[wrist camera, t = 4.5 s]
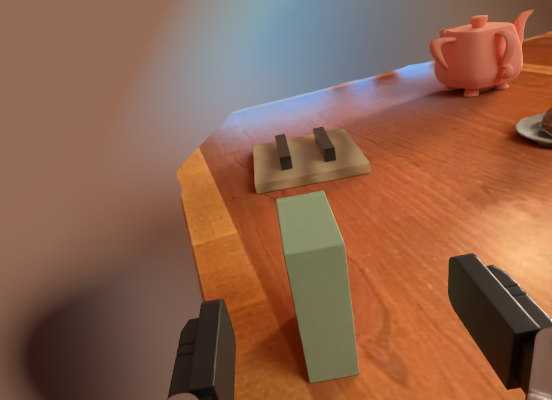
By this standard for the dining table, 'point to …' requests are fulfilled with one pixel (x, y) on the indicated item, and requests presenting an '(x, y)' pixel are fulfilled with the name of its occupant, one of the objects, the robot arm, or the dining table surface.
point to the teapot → (479, 54)
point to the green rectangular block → (319, 285)
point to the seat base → (307, 160)
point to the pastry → (537, 128)
